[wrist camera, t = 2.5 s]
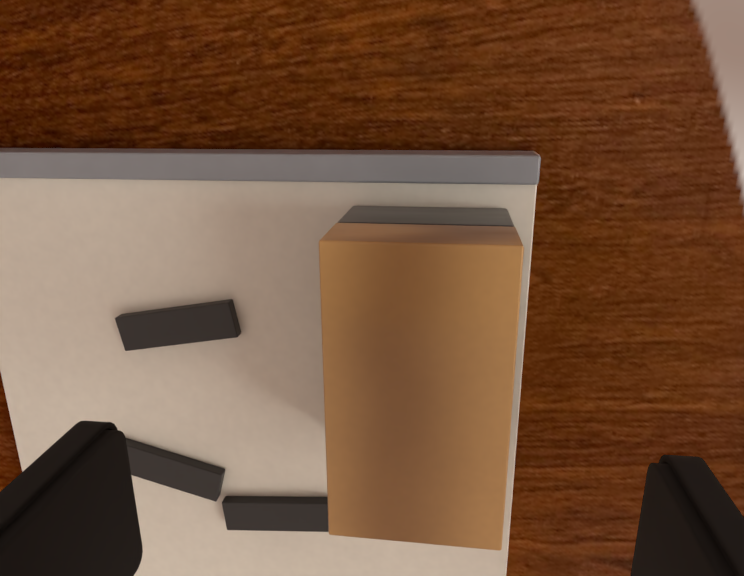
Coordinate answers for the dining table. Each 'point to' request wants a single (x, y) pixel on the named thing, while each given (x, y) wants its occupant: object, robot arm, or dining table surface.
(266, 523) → the bar
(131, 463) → the marker stroke
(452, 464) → the eraser
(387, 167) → the whiteboard
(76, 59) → the dining table surface
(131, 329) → the block
